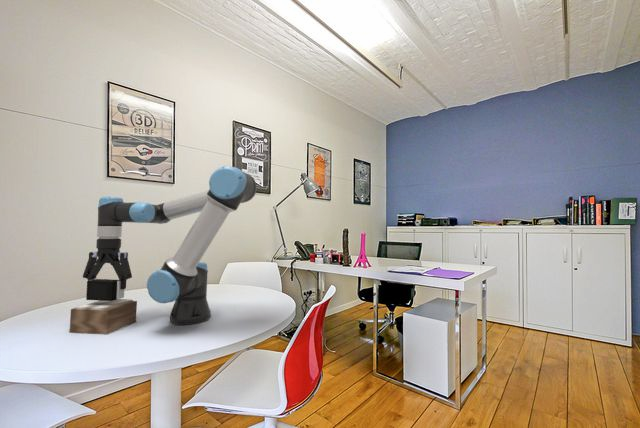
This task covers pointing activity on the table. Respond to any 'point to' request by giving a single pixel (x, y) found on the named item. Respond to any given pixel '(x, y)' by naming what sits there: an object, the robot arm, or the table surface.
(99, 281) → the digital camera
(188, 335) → the table surface
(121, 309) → the walnut stand
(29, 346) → the table surface
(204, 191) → the robot arm
